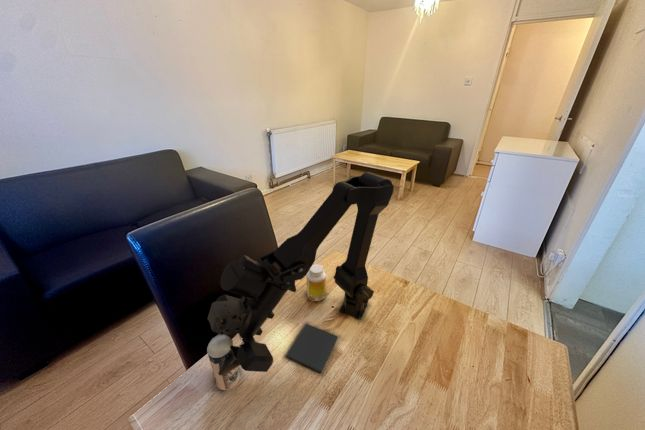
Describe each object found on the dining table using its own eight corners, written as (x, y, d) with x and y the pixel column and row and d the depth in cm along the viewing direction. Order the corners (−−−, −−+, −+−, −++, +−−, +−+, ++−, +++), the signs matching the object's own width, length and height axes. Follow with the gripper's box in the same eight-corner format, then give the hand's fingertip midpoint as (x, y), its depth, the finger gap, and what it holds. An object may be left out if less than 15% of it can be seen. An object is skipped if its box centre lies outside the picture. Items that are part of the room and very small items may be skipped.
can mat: (306, 325, 69) (306, 323, 69) (337, 337, 66) (337, 336, 66) (286, 356, 61) (286, 355, 61) (320, 373, 58) (321, 371, 58)
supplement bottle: (328, 298, 78) (329, 271, 73) (311, 304, 76) (311, 276, 71) (320, 286, 83) (320, 260, 78) (304, 291, 80) (303, 265, 76)
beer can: (233, 393, 54) (223, 356, 48) (212, 388, 55) (200, 351, 49) (243, 371, 58) (236, 334, 52) (224, 367, 59) (215, 330, 53)
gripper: (216, 264, 54) (170, 326, 54) (249, 325, 41) (189, 409, 40) (256, 279, 62) (216, 333, 61) (295, 335, 49) (245, 405, 48)
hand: (216, 364), depth 53 cm, fingers closed on beer can, 5 cm apart
